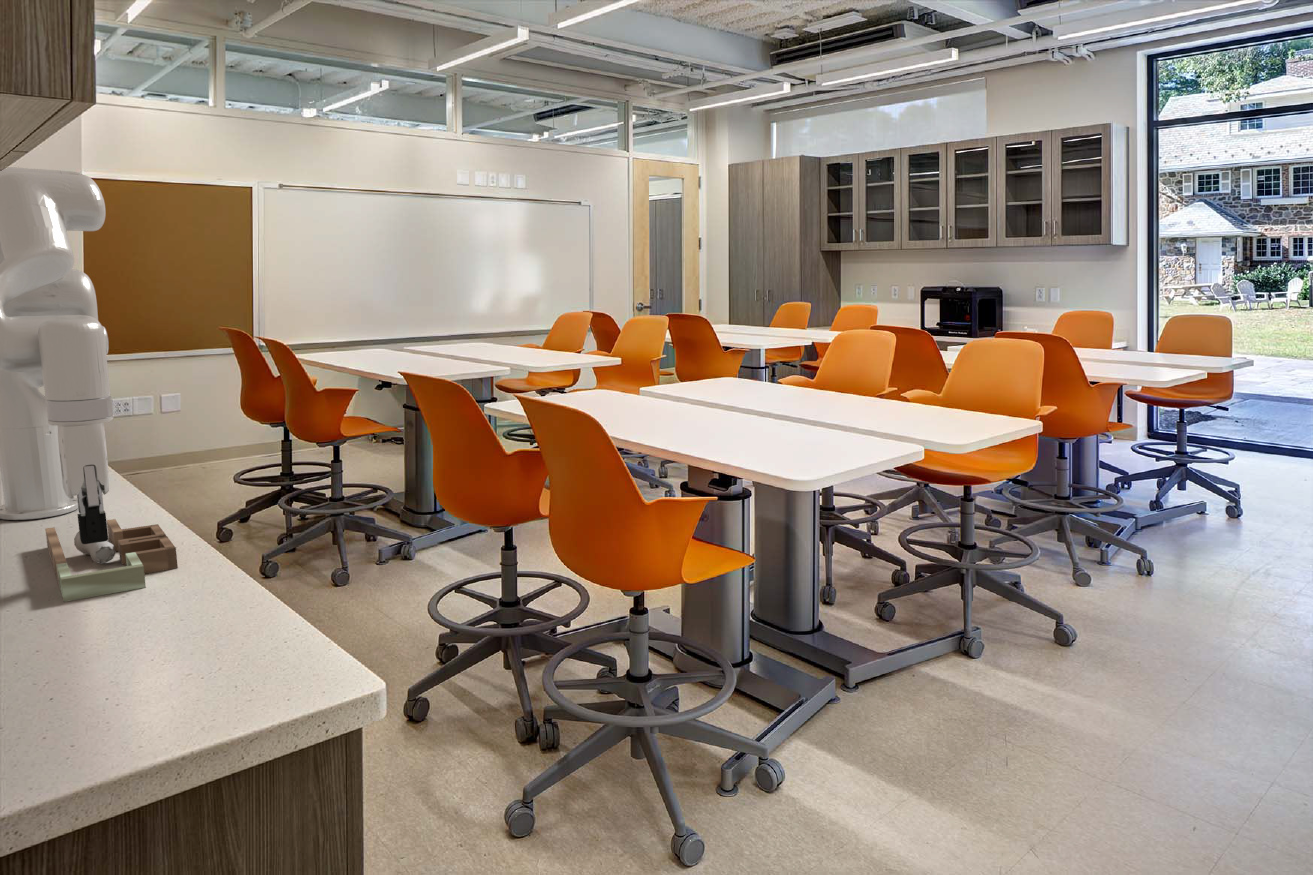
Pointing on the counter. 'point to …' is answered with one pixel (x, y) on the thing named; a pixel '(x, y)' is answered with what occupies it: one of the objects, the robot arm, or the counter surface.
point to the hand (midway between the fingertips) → (94, 541)
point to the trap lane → (136, 549)
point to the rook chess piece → (96, 549)
